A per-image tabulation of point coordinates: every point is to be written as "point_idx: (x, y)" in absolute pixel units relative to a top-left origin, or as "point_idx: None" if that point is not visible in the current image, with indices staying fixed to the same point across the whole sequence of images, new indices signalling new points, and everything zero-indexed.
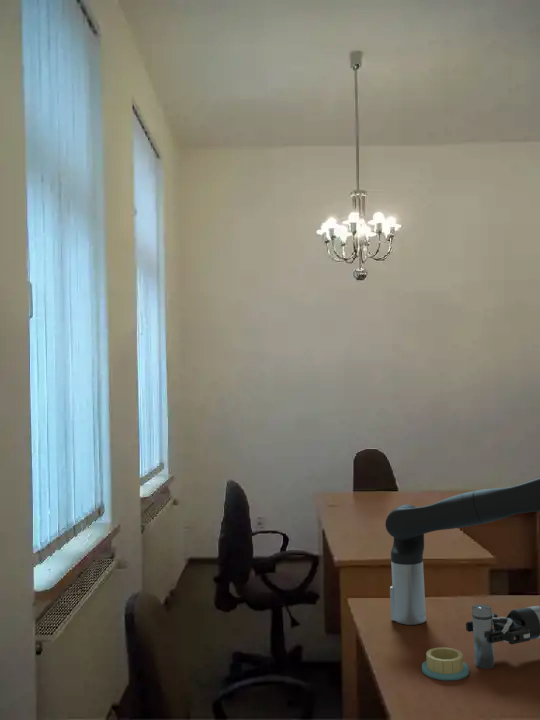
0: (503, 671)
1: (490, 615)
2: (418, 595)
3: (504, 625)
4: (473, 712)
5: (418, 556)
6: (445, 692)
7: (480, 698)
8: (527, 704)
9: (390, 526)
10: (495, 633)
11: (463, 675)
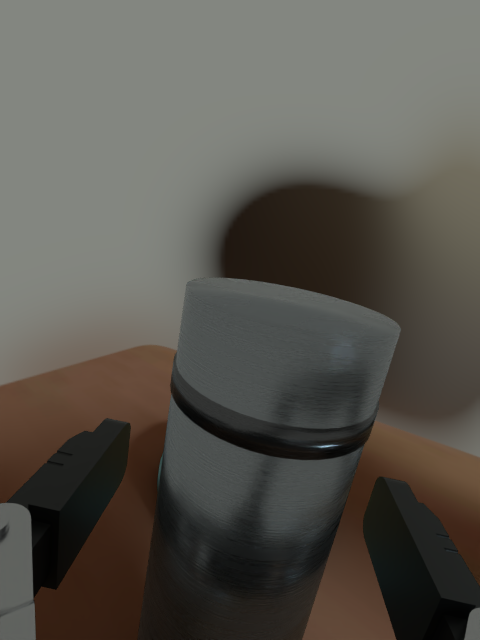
0: None
1: (176, 361)
2: None
3: (34, 635)
4: (16, 383)
5: None
6: (137, 408)
7: (27, 430)
8: None
9: None
10: (73, 458)
11: (158, 474)
